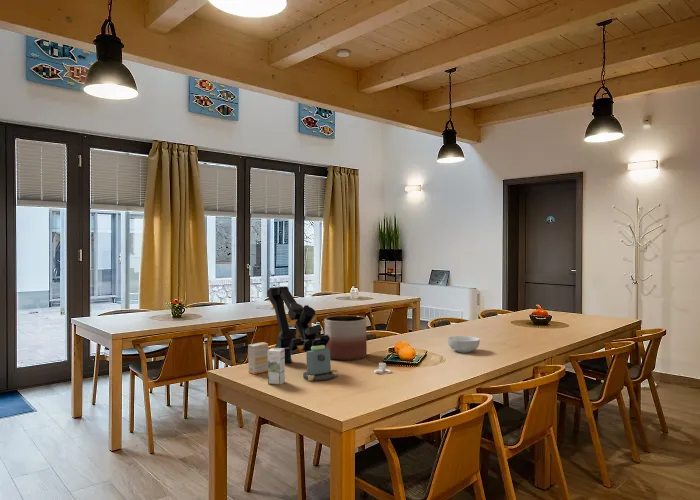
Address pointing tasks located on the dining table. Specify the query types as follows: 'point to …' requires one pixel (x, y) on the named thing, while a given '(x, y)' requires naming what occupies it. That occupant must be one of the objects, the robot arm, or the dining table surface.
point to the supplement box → (258, 357)
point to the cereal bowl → (463, 343)
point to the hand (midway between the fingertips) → (316, 358)
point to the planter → (346, 337)
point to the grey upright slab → (318, 360)
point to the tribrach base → (320, 376)
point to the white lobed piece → (382, 369)
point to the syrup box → (276, 366)
